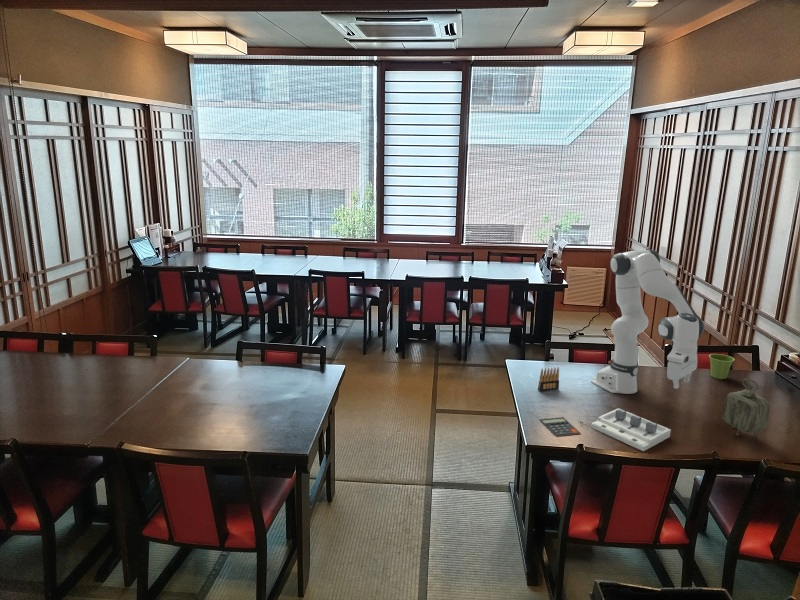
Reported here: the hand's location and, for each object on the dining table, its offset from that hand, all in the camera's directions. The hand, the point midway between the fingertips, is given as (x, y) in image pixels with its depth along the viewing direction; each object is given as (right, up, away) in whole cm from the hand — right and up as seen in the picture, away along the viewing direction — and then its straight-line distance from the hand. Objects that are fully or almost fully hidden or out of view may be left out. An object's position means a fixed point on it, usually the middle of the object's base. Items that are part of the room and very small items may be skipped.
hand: (681, 384), depth 220 cm
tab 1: (-20, -17, +12) cm, 29 cm away
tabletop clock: (+27, -22, +4) cm, 35 cm away
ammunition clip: (-42, -10, +46) cm, 64 cm away
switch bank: (-19, -21, +5) cm, 29 cm away
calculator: (-48, -20, +9) cm, 53 cm away
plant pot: (+55, -7, +65) cm, 85 cm away
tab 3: (-12, -20, +1) cm, 23 cm away
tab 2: (-16, -18, +7) cm, 25 cm away
